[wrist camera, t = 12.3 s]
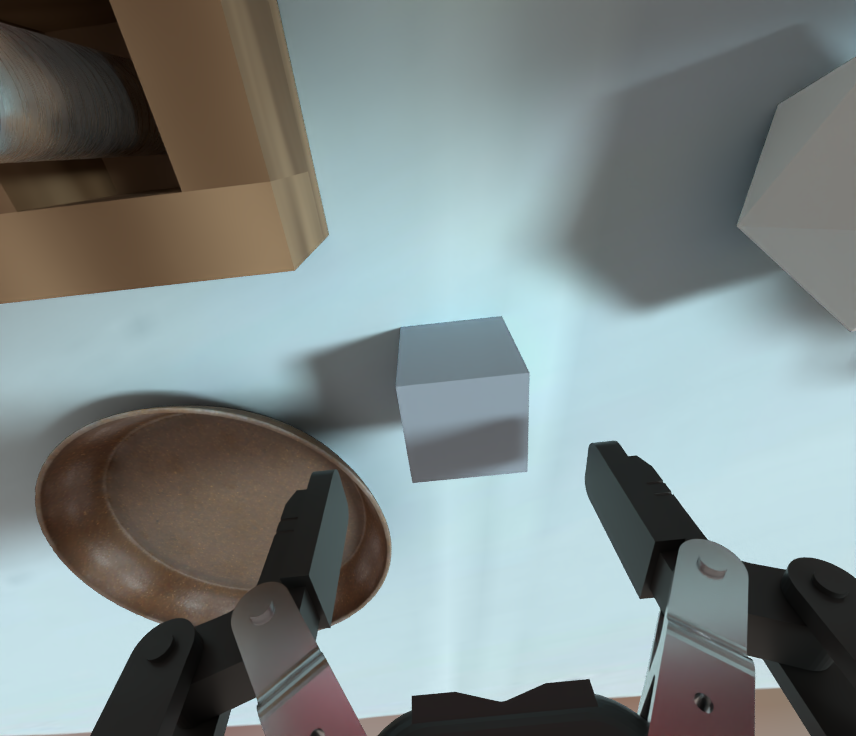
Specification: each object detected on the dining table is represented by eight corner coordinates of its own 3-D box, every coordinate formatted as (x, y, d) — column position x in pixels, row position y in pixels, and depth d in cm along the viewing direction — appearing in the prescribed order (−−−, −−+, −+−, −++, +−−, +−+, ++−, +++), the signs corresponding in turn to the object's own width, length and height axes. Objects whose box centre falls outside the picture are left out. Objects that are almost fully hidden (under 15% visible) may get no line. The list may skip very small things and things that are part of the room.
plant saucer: (0, 453, 21) (-60, 498, 18) (278, 316, 18) (253, 347, 15) (223, 617, 29) (203, 665, 26) (443, 546, 26) (445, 592, 23)
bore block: (255, -96, 11) (152, -248, 7) (328, 234, 16) (294, 270, 11) (-51, -52, 11) (-339, -171, 7) (107, 260, 16) (-10, 305, 12)
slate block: (501, 315, 18) (529, 372, 13) (502, 399, 20) (527, 471, 15) (400, 326, 18) (395, 386, 13) (413, 408, 20) (412, 482, 16)
